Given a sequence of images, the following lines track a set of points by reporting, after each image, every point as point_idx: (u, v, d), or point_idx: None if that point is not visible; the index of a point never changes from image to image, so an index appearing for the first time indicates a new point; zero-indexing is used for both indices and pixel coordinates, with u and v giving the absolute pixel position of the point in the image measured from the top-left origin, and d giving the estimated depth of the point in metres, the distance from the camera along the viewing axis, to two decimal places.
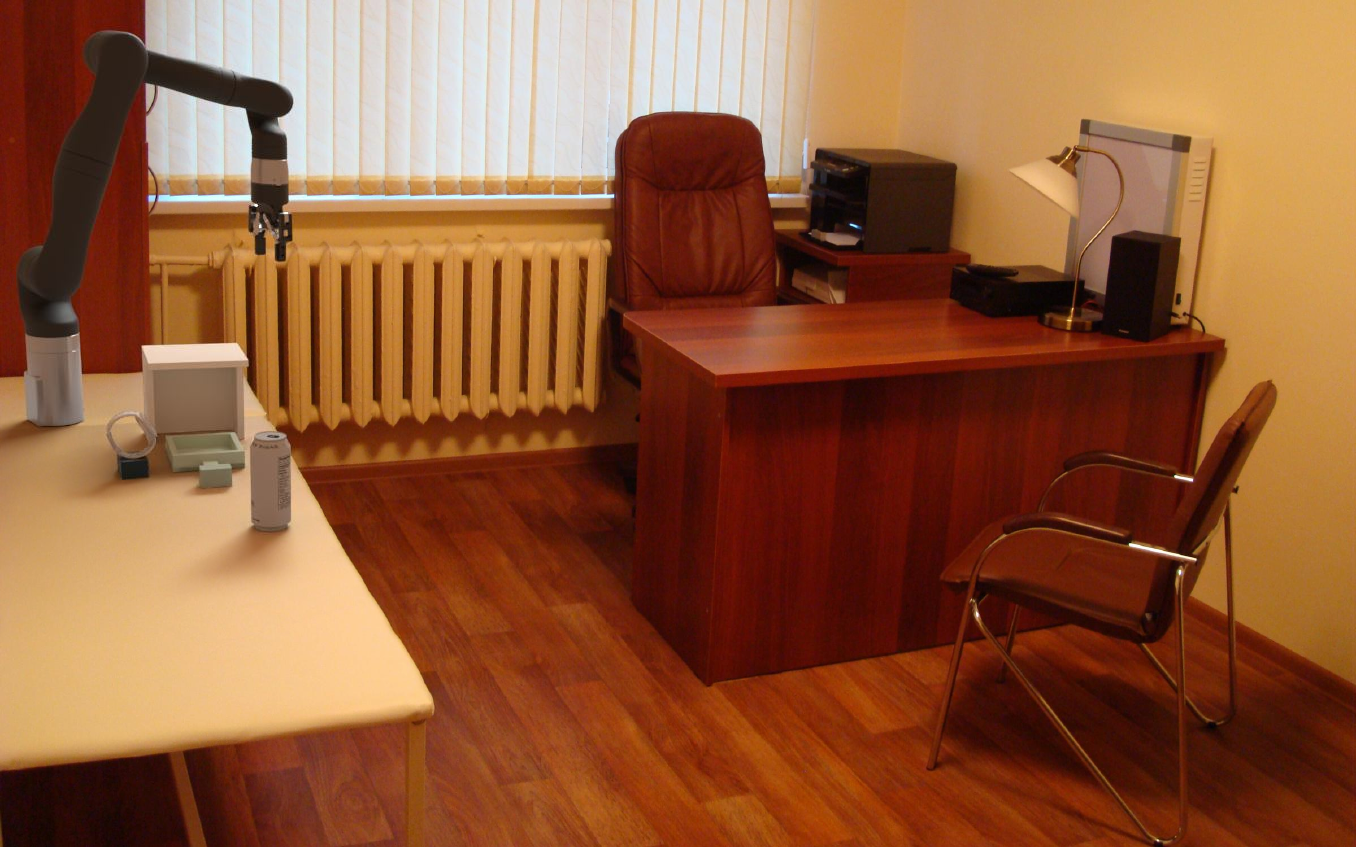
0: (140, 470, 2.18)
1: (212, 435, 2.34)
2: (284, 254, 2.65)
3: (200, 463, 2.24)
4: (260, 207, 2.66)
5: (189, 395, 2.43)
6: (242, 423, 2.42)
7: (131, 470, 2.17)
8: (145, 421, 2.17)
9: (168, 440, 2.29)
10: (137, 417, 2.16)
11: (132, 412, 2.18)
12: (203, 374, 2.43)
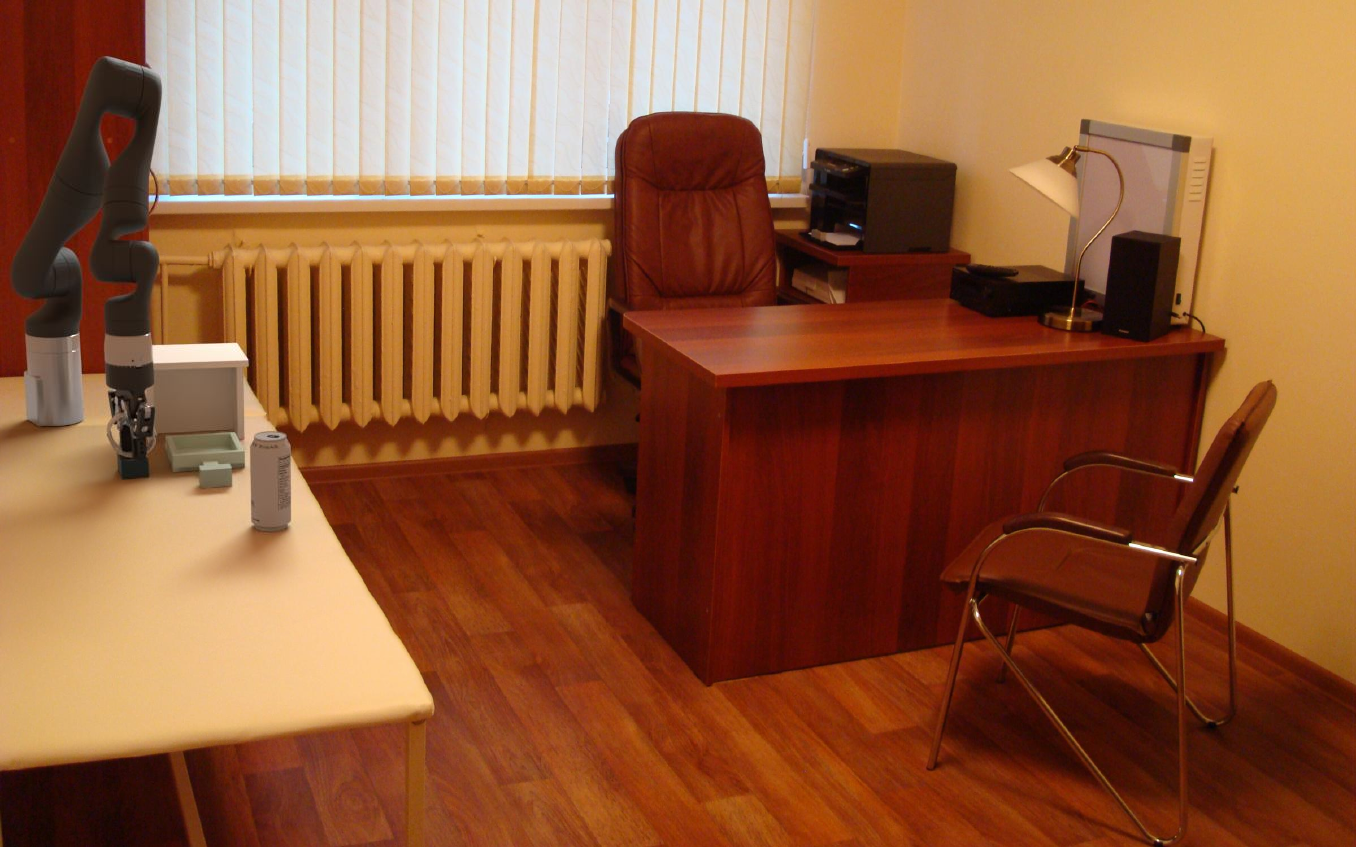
0: (140, 469, 2.18)
1: (212, 435, 2.34)
2: (144, 451, 2.17)
3: (200, 463, 2.24)
4: (119, 390, 2.17)
5: (189, 395, 2.43)
6: (242, 423, 2.42)
7: (131, 469, 2.17)
8: None
9: (168, 440, 2.29)
10: None
11: None
12: (203, 374, 2.43)
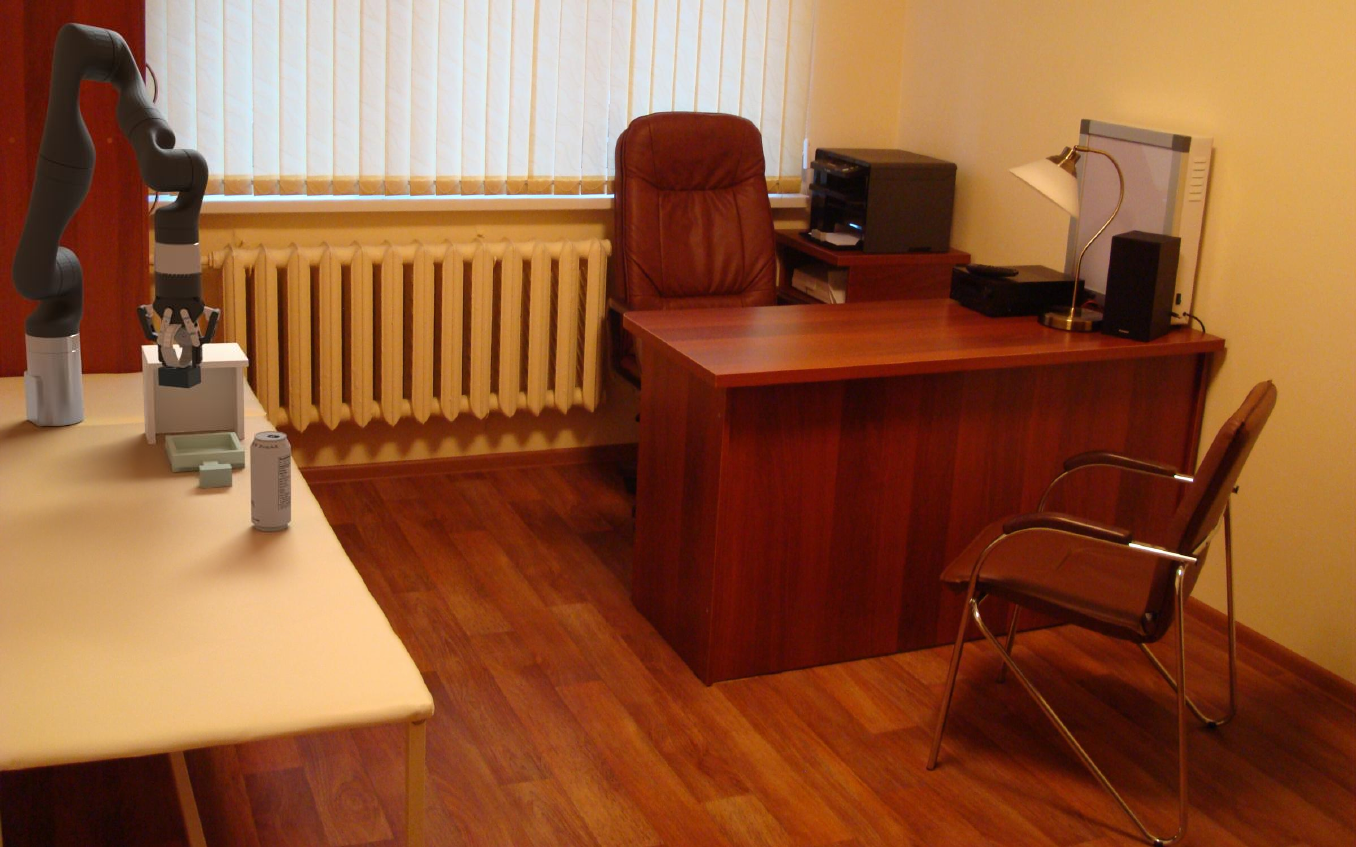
0: (197, 376, 2.23)
1: (212, 435, 2.34)
2: (201, 357, 2.22)
3: (200, 463, 2.24)
4: (165, 302, 2.17)
5: (189, 395, 2.43)
6: (242, 423, 2.42)
7: (192, 378, 2.21)
8: None
9: (168, 440, 2.29)
10: None
11: None
12: (203, 374, 2.43)
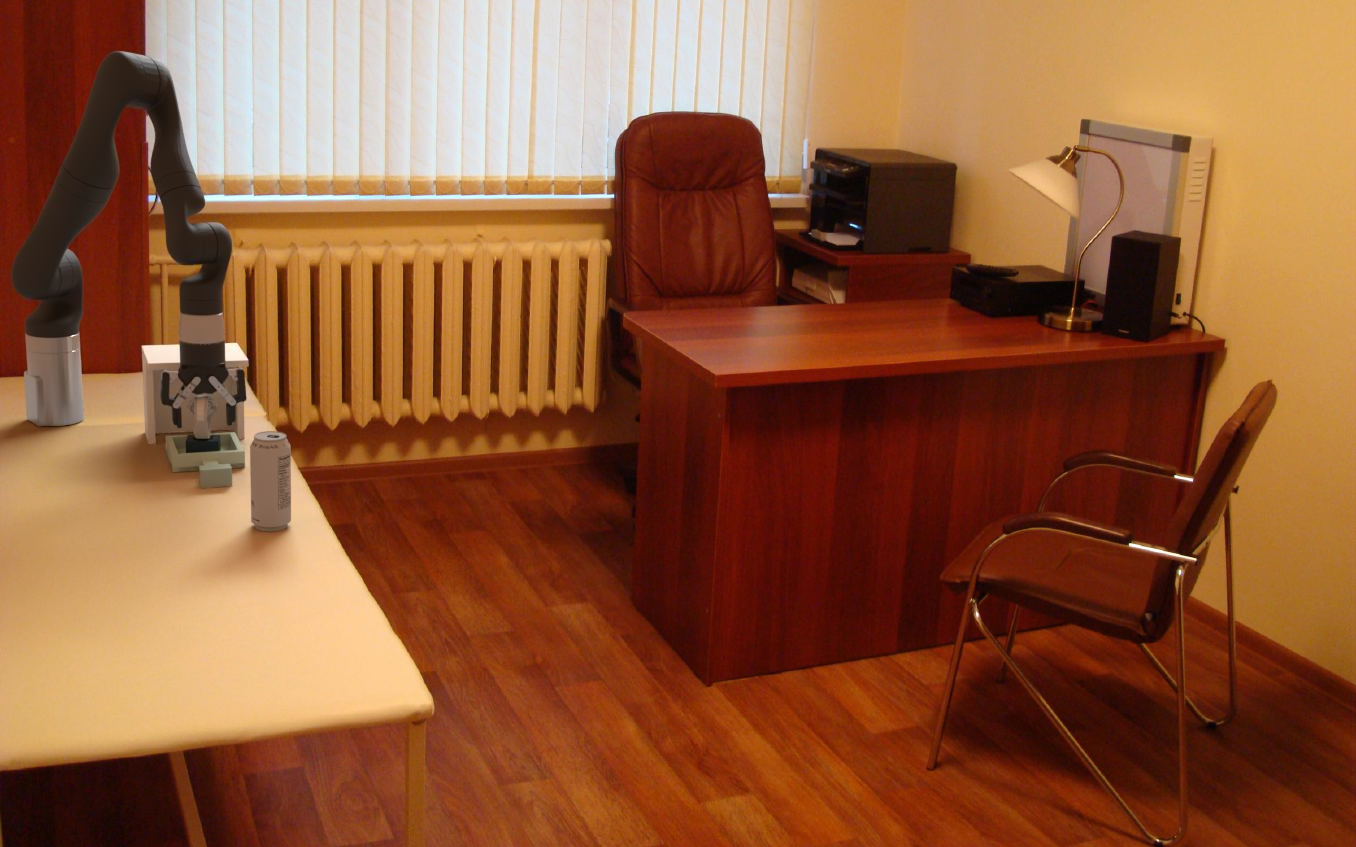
0: None
1: None
2: None
3: (200, 463, 2.24)
4: (192, 371, 2.23)
5: (189, 395, 2.43)
6: (242, 423, 2.42)
7: (219, 447, 2.29)
8: (214, 399, 2.29)
9: (168, 440, 2.29)
10: (211, 397, 2.28)
11: (199, 395, 2.27)
12: None
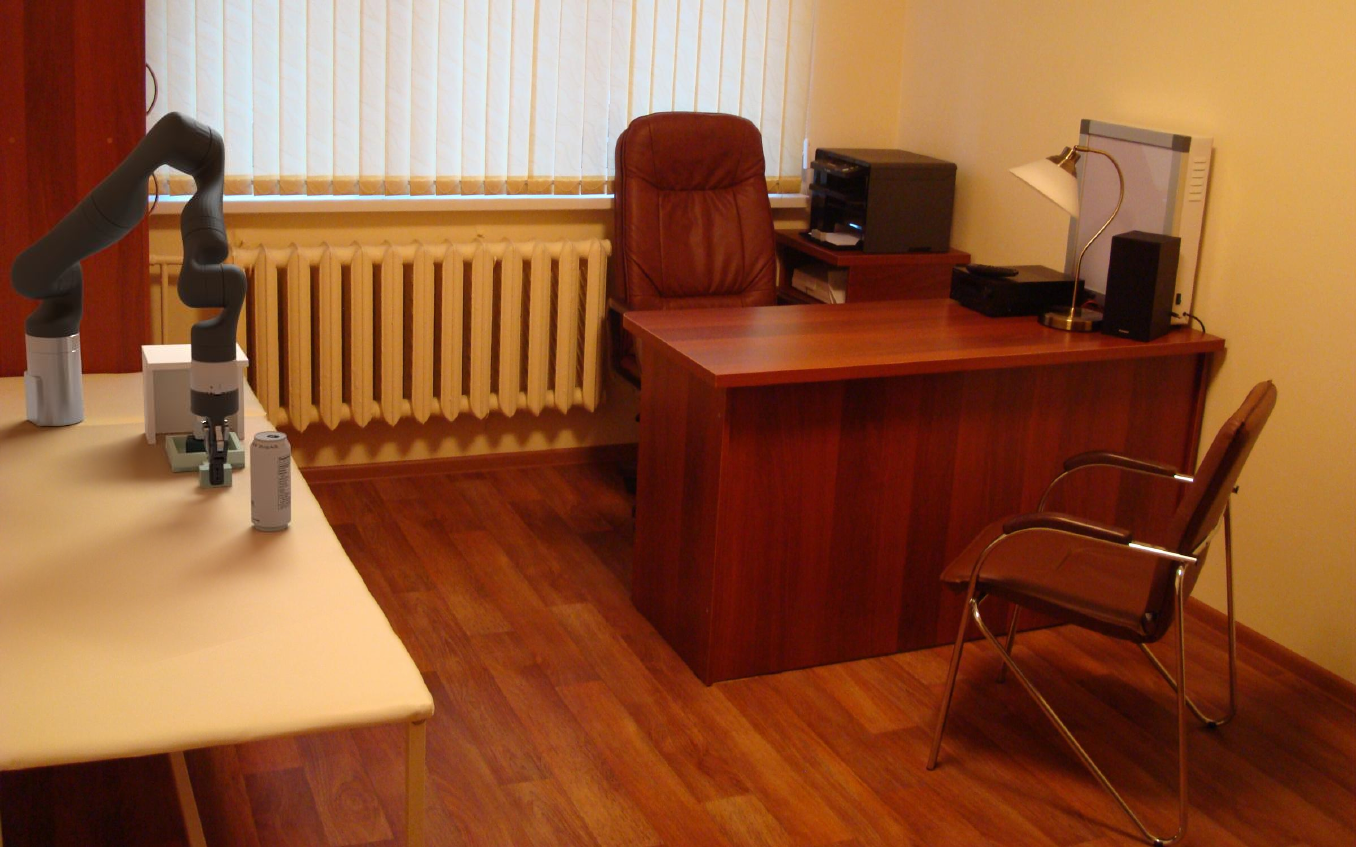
0: None
1: None
2: (219, 477, 2.13)
3: (200, 463, 2.24)
4: None
5: (189, 395, 2.43)
6: (242, 423, 2.42)
7: None
8: None
9: (168, 440, 2.29)
10: None
11: None
12: None
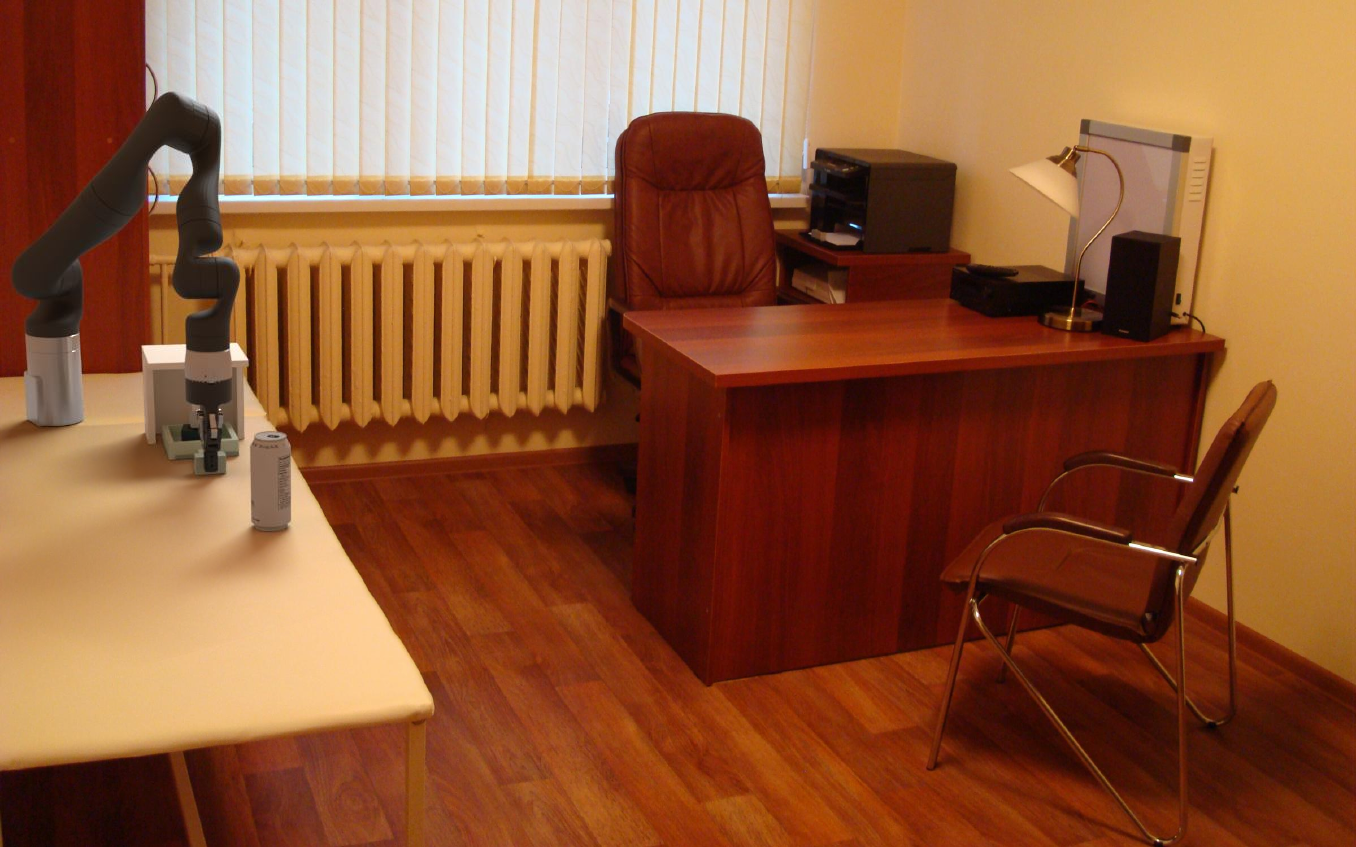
0: None
1: None
2: (214, 464, 2.19)
3: (195, 451, 2.30)
4: None
5: None
6: (242, 423, 2.42)
7: None
8: None
9: (164, 429, 2.35)
10: None
11: None
12: None
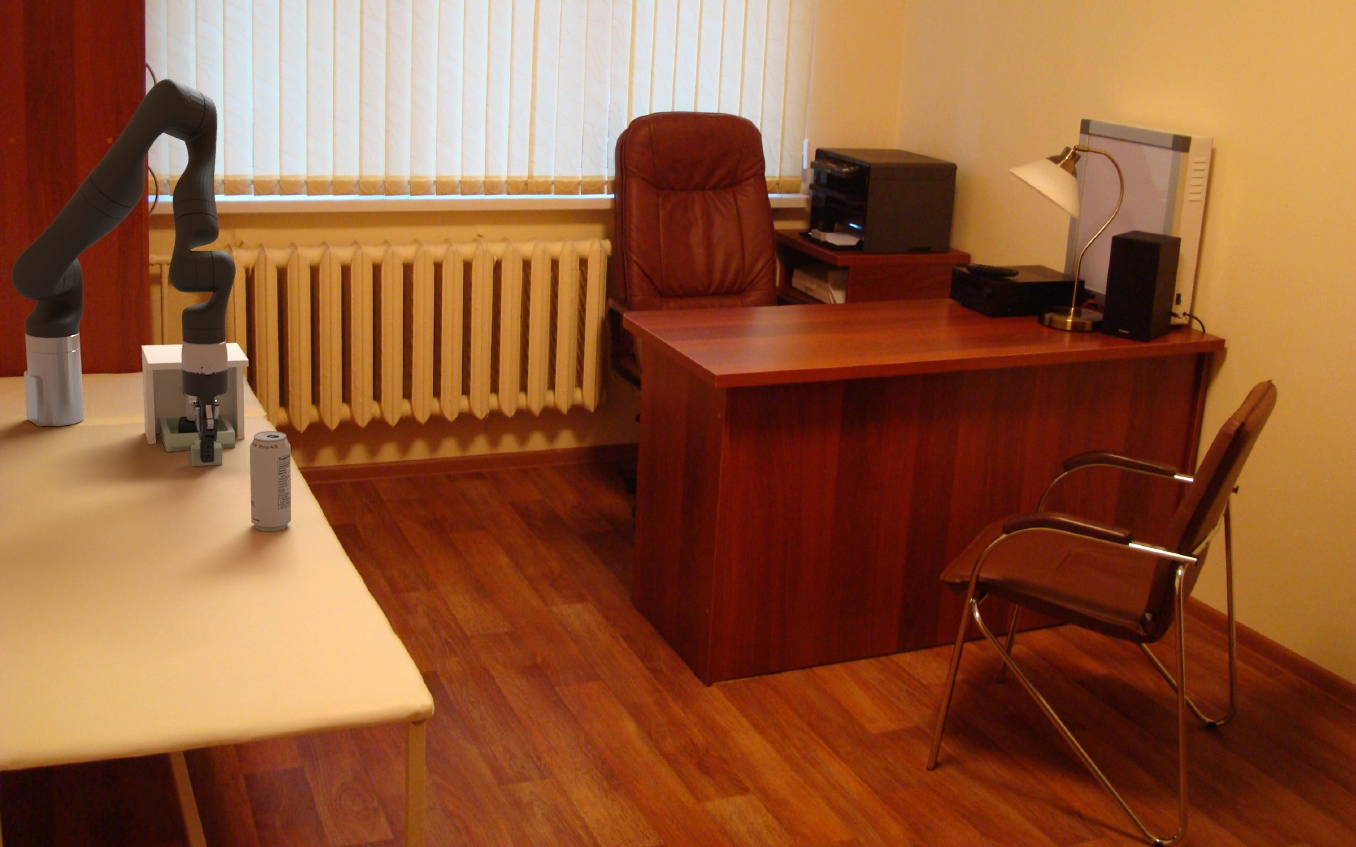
0: None
1: None
2: (210, 454, 2.23)
3: (192, 443, 2.34)
4: (197, 395, 2.23)
5: None
6: (242, 423, 2.42)
7: None
8: None
9: (161, 421, 2.39)
10: None
11: None
12: None
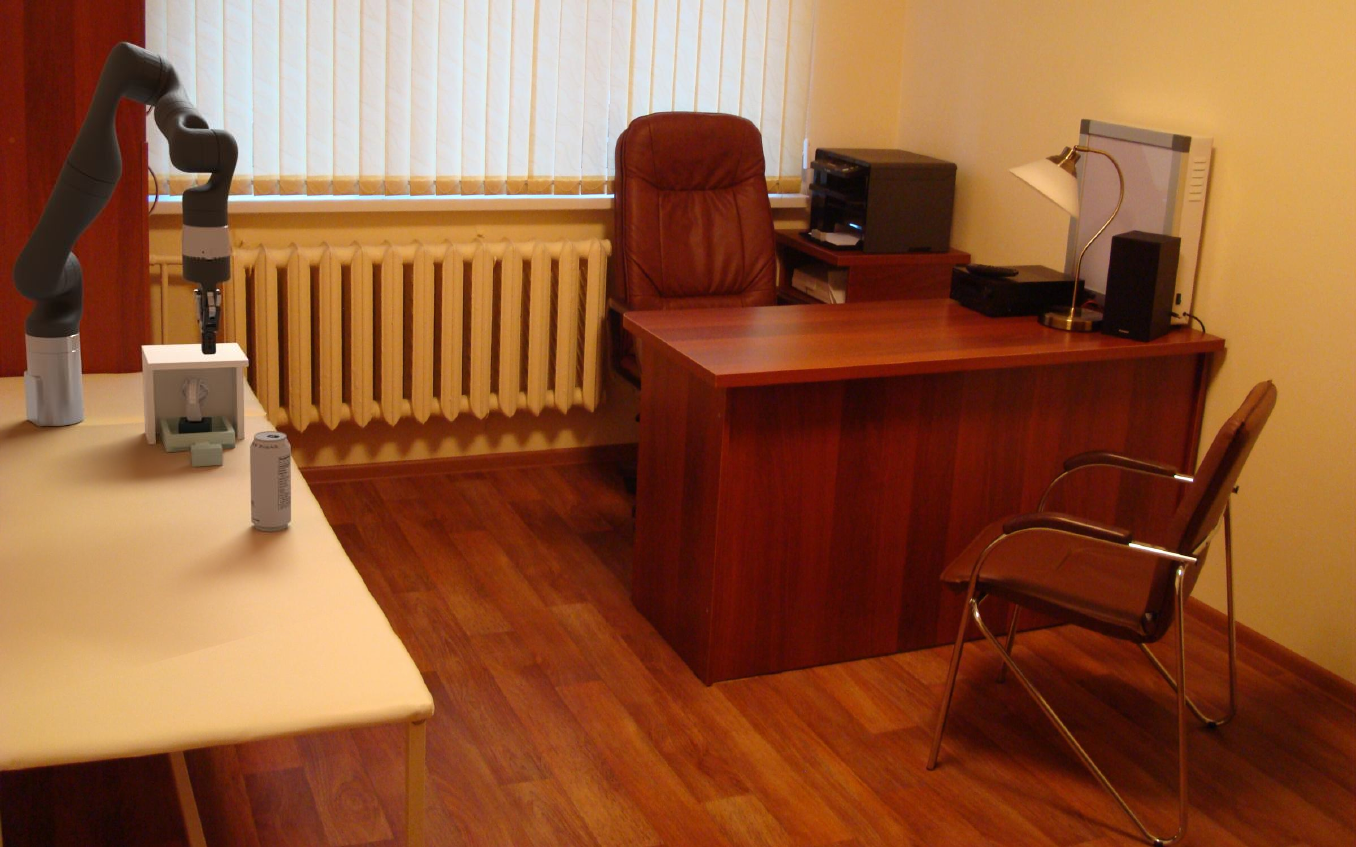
0: (211, 427, 2.41)
1: None
2: (212, 346, 2.14)
3: (192, 443, 2.34)
4: (198, 284, 2.14)
5: None
6: (242, 423, 2.42)
7: (210, 429, 2.39)
8: (206, 383, 2.39)
9: (162, 422, 2.39)
10: (203, 381, 2.38)
11: (191, 379, 2.37)
12: (203, 374, 2.43)
